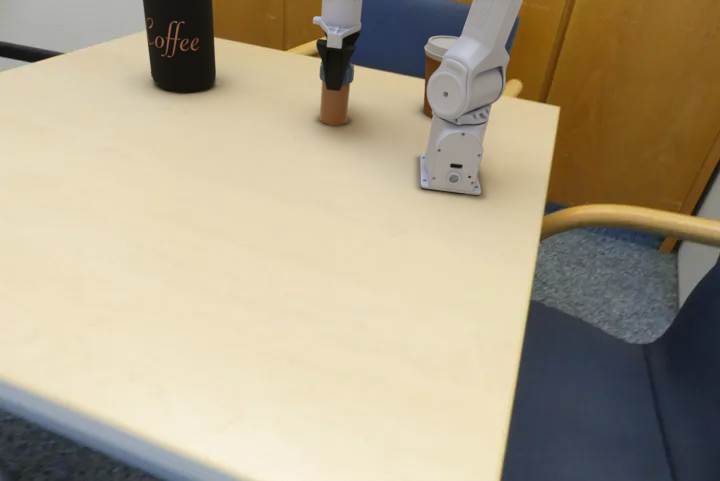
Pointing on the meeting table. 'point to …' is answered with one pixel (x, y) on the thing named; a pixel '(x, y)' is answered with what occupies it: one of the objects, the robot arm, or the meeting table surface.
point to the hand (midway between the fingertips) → (335, 82)
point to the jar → (334, 105)
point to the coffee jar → (181, 44)
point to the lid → (347, 78)
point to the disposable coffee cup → (435, 61)
